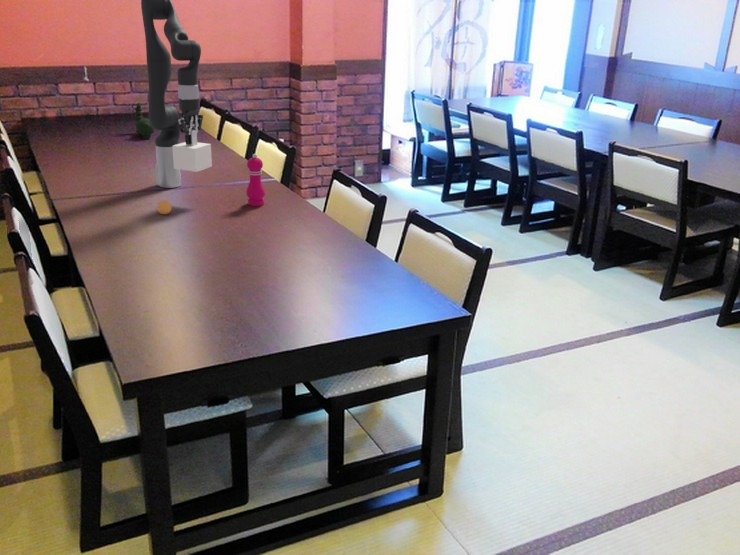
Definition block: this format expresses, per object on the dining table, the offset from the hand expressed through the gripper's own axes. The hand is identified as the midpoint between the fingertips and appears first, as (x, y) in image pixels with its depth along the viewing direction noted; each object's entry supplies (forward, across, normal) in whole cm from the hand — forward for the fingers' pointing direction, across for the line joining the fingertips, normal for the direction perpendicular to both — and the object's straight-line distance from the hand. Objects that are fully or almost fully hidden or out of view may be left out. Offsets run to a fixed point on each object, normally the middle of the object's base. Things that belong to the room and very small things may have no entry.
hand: (191, 143), depth 259 cm
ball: (+21, +18, 0) cm, 28 cm away
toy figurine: (+24, -95, -101) cm, 141 cm away
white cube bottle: (+9, 0, 0) cm, 9 cm away
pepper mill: (+23, -10, +22) cm, 33 cm away
